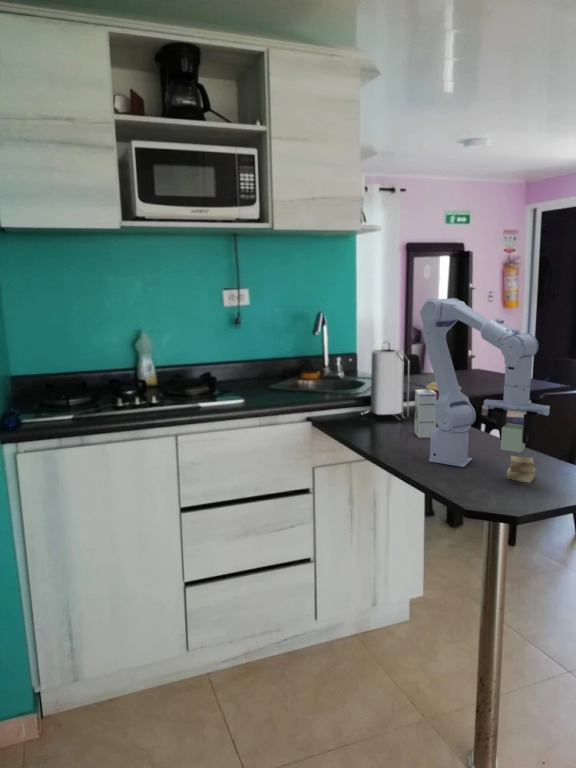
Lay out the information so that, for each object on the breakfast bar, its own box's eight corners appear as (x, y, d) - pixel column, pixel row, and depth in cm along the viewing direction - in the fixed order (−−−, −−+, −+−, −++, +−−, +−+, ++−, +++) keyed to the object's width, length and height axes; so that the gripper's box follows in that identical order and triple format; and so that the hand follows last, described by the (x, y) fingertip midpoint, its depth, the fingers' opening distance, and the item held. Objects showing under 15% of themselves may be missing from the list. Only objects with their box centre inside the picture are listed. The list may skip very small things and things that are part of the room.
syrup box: (435, 437, 176) (437, 392, 173) (416, 437, 176) (418, 392, 173) (431, 433, 181) (433, 389, 179) (413, 433, 181) (414, 389, 179)
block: (500, 449, 135) (501, 427, 134) (505, 444, 138) (506, 423, 137) (520, 452, 132) (521, 429, 131) (524, 447, 136) (526, 425, 135)
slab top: (510, 471, 137) (511, 461, 137) (510, 465, 142) (511, 455, 141) (532, 473, 135) (533, 463, 135) (532, 467, 140) (532, 457, 139)
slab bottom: (506, 480, 138) (506, 470, 138) (511, 474, 143) (511, 464, 142) (530, 484, 135) (530, 474, 135) (534, 478, 140) (535, 468, 139)
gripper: (481, 384, 134) (478, 439, 136) (547, 390, 126) (542, 449, 128) (489, 380, 139) (486, 433, 142) (552, 386, 131) (548, 442, 134)
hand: (513, 440), depth 135 cm, fingers closed on block, 4 cm apart
